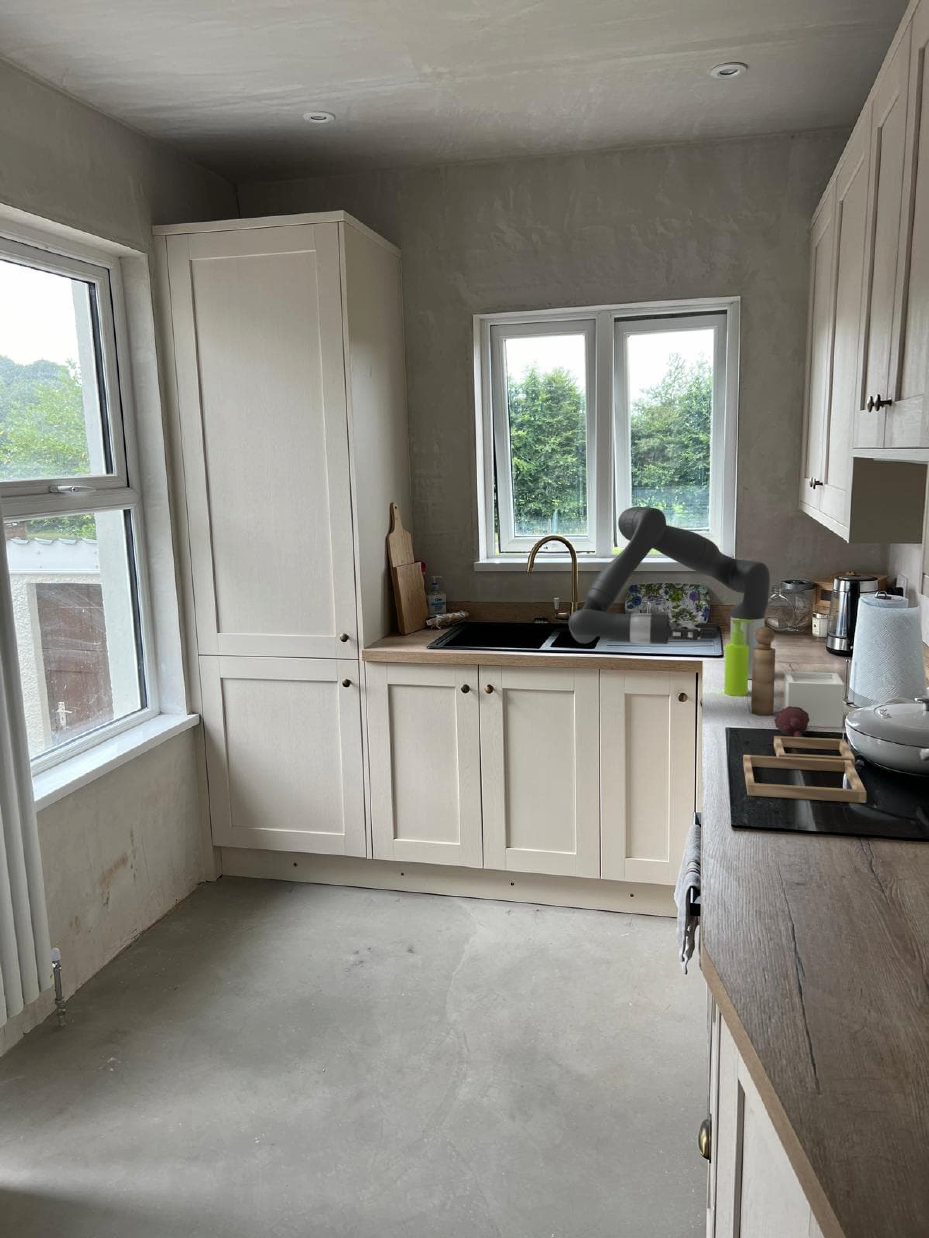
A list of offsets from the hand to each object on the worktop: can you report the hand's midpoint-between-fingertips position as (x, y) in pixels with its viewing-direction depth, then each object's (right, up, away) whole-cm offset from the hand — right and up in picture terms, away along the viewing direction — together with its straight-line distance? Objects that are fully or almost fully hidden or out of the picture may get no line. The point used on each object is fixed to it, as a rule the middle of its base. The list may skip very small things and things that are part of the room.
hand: (716, 630), depth 224 cm
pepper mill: (+11, -20, +1) cm, 23 cm away
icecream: (+12, -24, -18) cm, 32 cm away
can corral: (+11, -26, -33) cm, 43 cm away
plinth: (+21, -21, -6) cm, 30 cm away
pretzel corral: (+3, -29, -48) cm, 56 cm away
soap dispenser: (+11, -17, +20) cm, 29 cm away
